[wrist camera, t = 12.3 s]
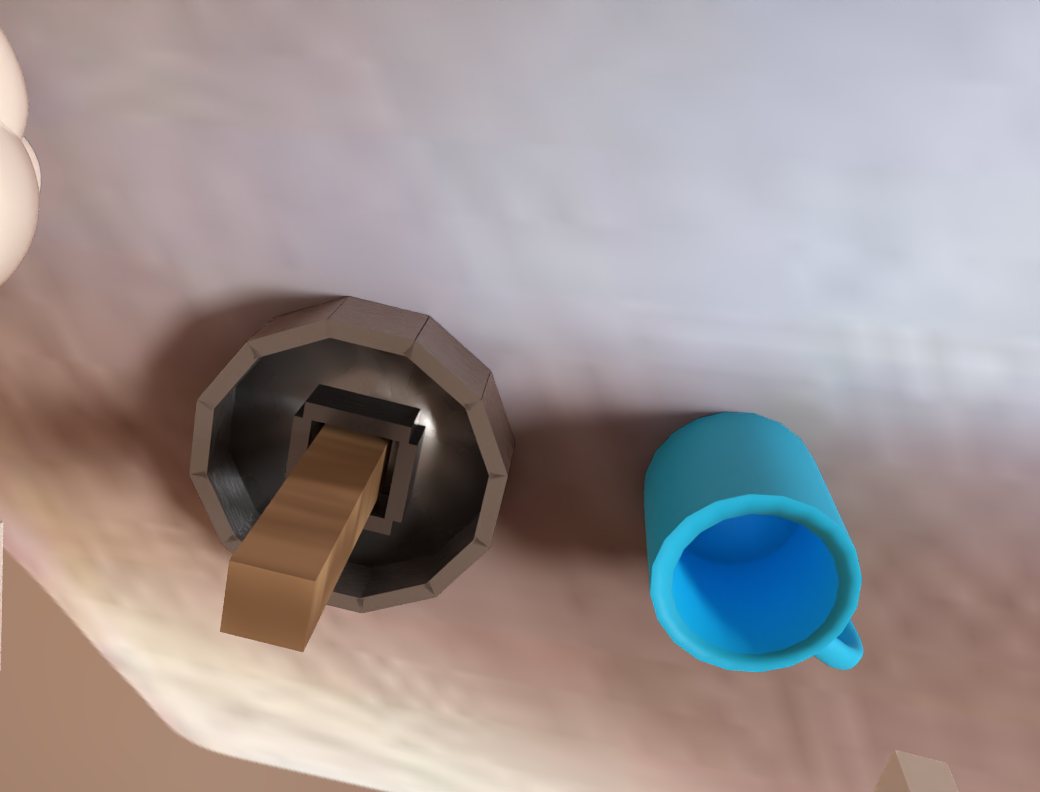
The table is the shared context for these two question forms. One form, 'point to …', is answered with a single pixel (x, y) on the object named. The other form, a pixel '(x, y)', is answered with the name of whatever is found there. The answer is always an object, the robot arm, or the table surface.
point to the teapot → (15, 166)
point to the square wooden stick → (304, 539)
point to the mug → (749, 548)
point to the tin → (369, 409)
